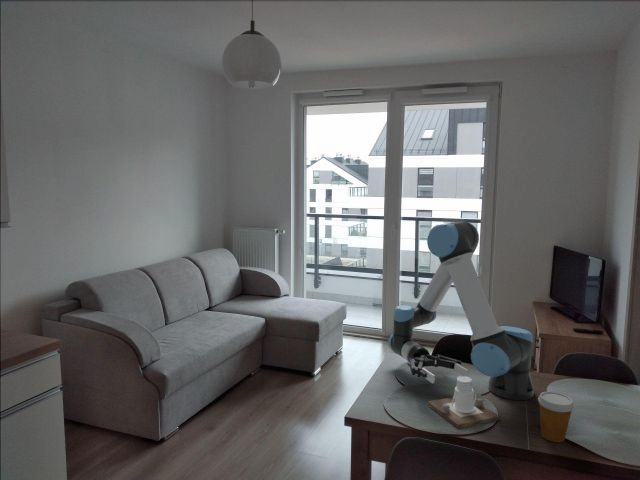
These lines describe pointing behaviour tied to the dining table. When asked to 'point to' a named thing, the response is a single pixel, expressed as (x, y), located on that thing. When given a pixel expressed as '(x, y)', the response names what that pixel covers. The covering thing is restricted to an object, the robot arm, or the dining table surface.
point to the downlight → (464, 395)
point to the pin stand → (464, 419)
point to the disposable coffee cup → (554, 415)
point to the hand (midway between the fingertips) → (450, 376)
